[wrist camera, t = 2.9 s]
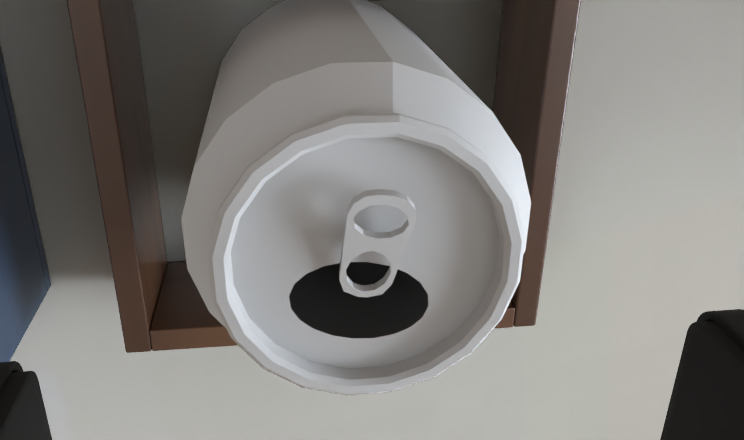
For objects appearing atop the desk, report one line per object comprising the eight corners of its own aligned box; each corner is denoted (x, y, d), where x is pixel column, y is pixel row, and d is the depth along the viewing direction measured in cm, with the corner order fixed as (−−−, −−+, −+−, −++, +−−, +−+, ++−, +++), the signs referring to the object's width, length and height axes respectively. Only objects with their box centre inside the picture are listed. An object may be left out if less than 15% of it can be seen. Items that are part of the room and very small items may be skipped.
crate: (537, -113, 22) (598, -113, 18) (497, 262, 28) (535, 326, 24) (89, -121, 20) (45, -123, 16) (147, 281, 26) (125, 353, 22)
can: (207, 189, 25) (162, 420, 14) (224, -30, 22) (181, 53, 11) (409, 209, 26) (508, 433, 16) (452, 6, 23) (610, 111, 12)
